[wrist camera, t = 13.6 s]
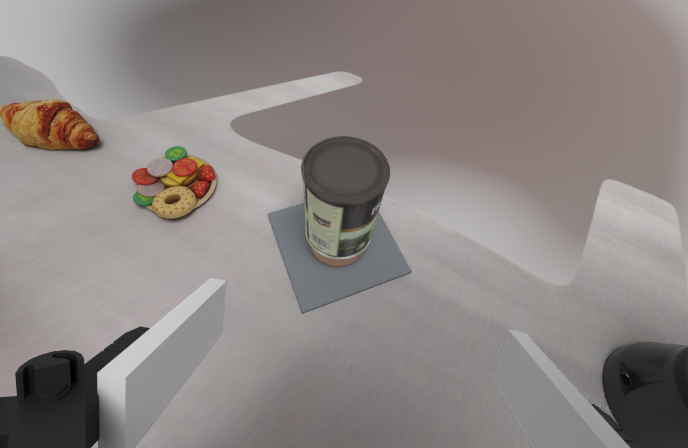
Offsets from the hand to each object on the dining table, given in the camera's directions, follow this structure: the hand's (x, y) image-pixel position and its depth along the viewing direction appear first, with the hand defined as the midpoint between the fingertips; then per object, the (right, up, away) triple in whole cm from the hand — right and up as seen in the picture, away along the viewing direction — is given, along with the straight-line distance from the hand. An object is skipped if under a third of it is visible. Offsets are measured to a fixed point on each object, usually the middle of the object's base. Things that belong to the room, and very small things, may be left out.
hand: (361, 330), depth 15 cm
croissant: (-55, +22, +47) cm, 75 cm away
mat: (-2, +2, +38) cm, 38 cm away
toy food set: (-30, +11, +42) cm, 53 cm away
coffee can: (-2, +4, +35) cm, 35 cm away
